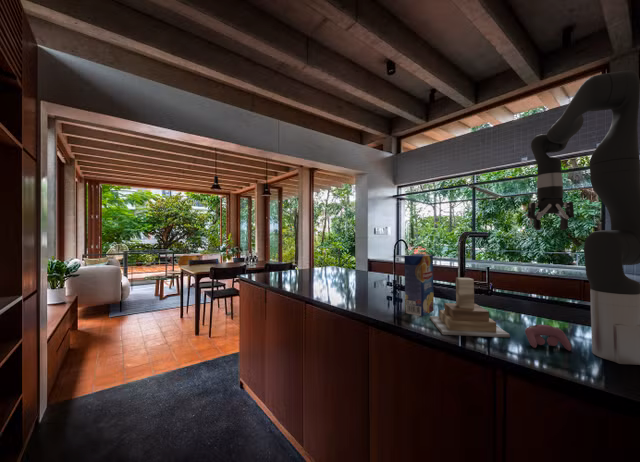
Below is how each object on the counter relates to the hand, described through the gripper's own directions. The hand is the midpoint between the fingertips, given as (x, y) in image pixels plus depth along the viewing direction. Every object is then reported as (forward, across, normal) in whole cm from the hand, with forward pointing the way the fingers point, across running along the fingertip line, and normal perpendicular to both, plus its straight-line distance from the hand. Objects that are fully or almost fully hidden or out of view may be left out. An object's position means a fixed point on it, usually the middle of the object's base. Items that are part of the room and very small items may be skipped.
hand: (550, 229), depth 106 cm
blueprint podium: (+34, -34, -11) cm, 49 cm away
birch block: (+27, -34, -11) cm, 45 cm away
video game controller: (+34, -17, -26) cm, 46 cm away
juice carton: (+34, -46, +8) cm, 58 cm away
